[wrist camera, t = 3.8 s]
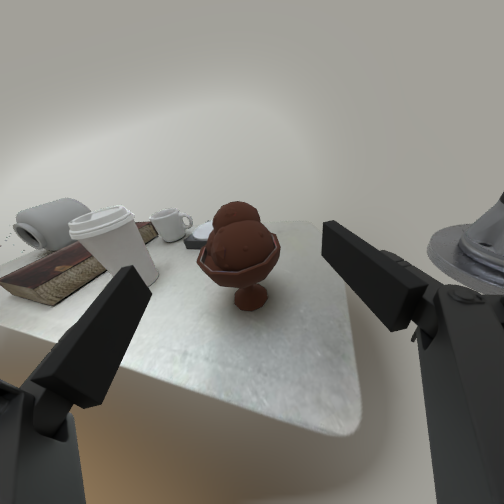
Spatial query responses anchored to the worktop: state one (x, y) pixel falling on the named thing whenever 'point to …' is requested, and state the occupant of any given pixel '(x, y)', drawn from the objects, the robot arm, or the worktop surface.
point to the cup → (170, 224)
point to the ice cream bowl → (240, 253)
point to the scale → (199, 236)
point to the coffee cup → (114, 241)
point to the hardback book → (61, 271)
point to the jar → (49, 224)
